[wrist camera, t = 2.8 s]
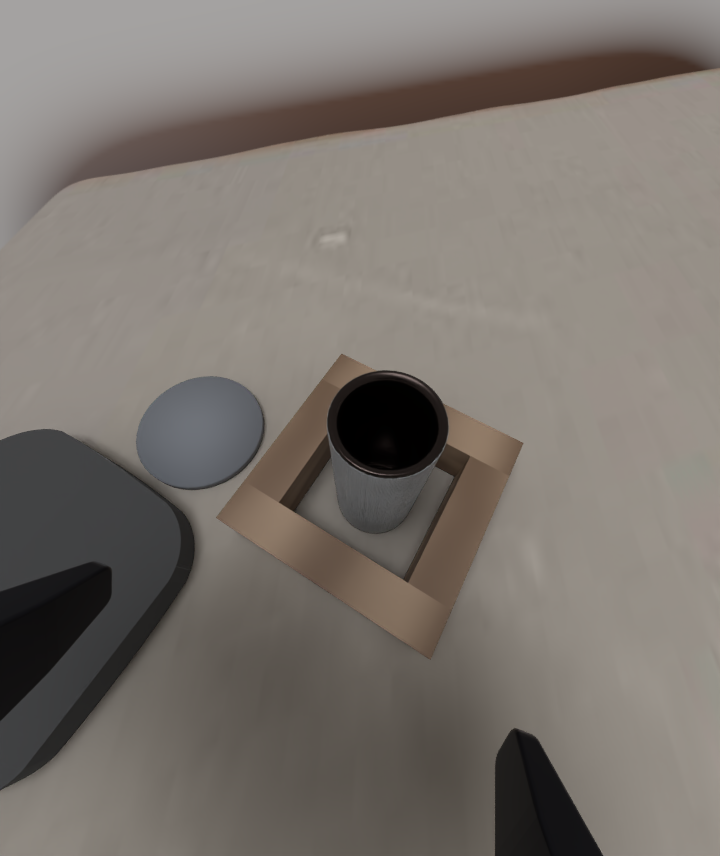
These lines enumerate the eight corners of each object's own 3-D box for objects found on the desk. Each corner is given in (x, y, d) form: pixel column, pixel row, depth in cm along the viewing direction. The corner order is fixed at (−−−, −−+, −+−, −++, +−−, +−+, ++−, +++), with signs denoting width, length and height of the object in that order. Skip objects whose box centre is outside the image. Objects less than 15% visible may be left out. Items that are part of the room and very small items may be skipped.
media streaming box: (8, 828, 16) (-61, 872, 14) (-172, 634, 19) (-256, 638, 17) (225, 537, 22) (207, 527, 19) (58, 424, 25) (23, 401, 22)
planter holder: (501, 465, 24) (523, 443, 21) (418, 651, 19) (430, 659, 16) (343, 384, 26) (341, 353, 23) (236, 530, 22) (215, 517, 19)
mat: (287, 413, 25) (286, 409, 25) (209, 513, 22) (206, 511, 22) (198, 364, 27) (195, 359, 26) (114, 450, 24) (109, 446, 23)
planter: (337, 464, 24) (325, 370, 14) (406, 460, 24) (439, 366, 15) (338, 536, 22) (326, 481, 12) (415, 532, 22) (459, 475, 13)
